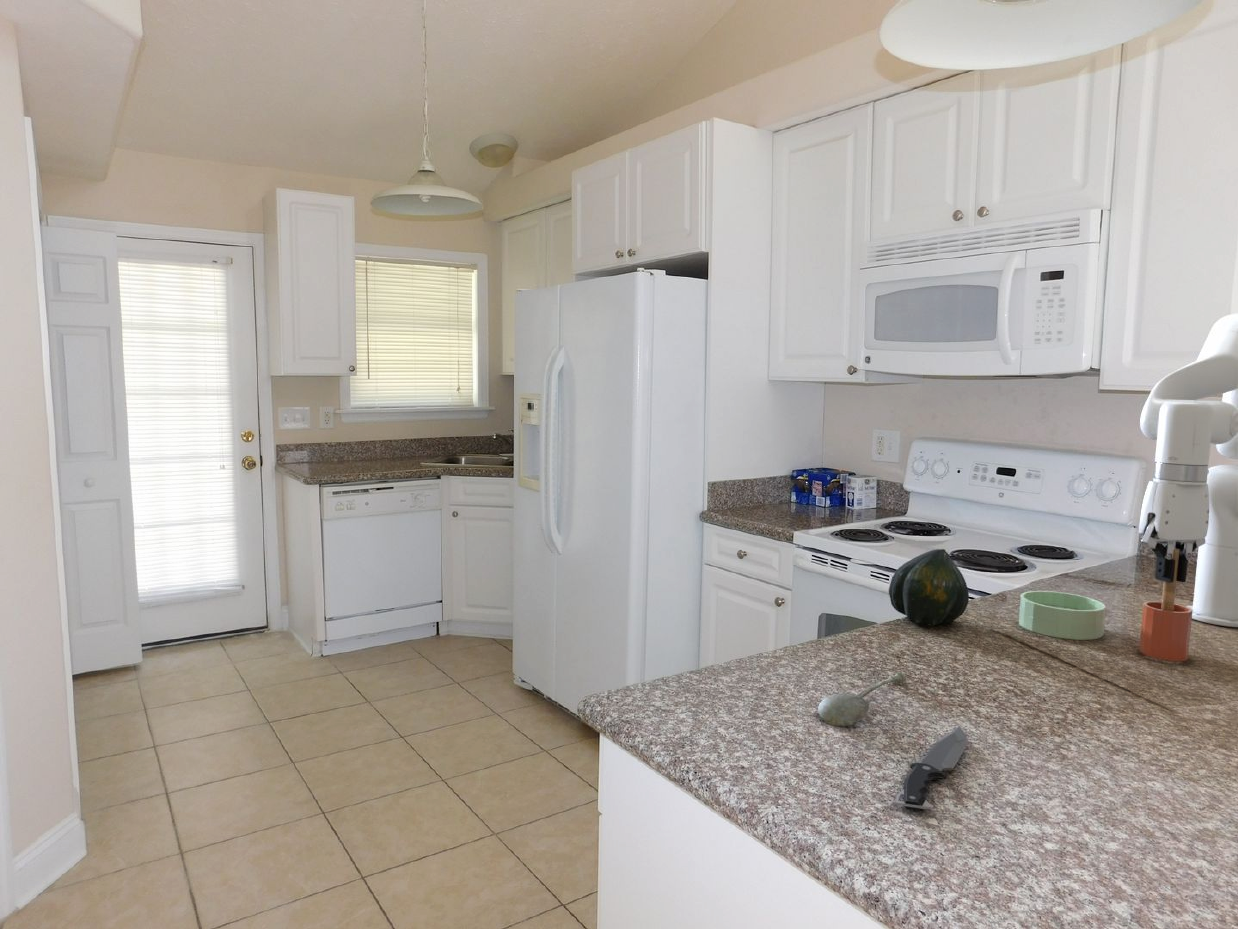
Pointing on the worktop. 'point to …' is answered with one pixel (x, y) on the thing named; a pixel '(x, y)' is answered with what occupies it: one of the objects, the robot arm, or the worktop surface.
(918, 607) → the squash
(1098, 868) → the worktop surface
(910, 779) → the knife
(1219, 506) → the robot arm
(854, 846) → the worktop surface
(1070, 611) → the bowl
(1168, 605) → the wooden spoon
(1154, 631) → the crock
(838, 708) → the soupspoon
